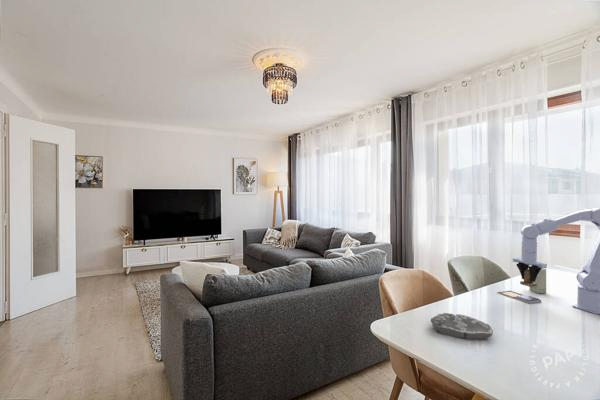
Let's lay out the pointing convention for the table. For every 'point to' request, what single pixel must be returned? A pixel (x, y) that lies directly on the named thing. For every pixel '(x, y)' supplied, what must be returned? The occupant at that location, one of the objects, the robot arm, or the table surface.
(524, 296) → the ink pad
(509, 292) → the beige square tile
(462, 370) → the table surface
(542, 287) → the skincare box
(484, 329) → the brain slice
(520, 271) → the robot arm
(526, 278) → the stamp
